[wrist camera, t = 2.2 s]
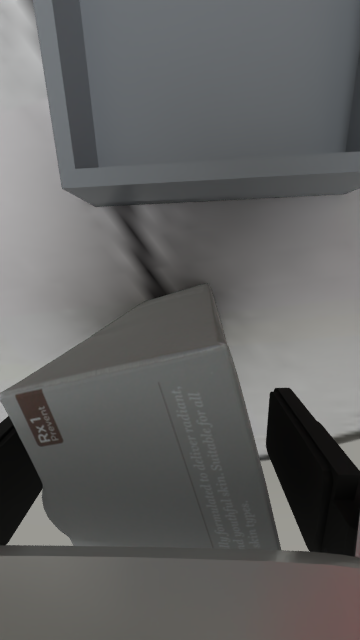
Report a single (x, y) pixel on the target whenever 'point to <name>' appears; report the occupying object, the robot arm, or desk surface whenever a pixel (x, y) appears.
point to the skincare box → (147, 434)
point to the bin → (202, 98)
